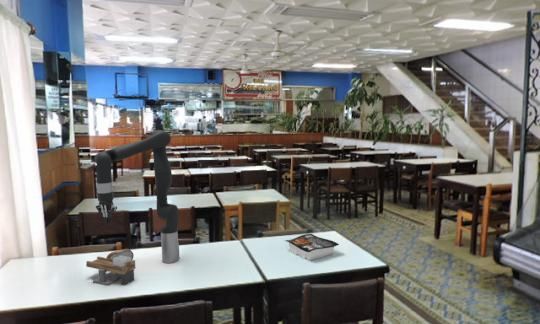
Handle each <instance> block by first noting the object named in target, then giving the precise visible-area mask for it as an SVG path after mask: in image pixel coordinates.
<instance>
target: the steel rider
mask: <svg viewBox="0 0 540 324" xmlns="http://www.w3.org/2000/svg"><path fill="white" fill-rule="evenodd" d="M130 261H131V257H127V256H122V255H120V256H117V257H115V258H113V266H115V267H120V268H122V265H124V264H126V263H128V262H130Z"/></svg>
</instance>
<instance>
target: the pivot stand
mask: <svg viewBox="0 0 540 324" xmlns="http://www.w3.org/2000/svg"><path fill="white" fill-rule="evenodd" d="M119 281H120V285H125V286H128V285H129V284H131V283H132V282H134V281H135V269H133V270H131V271H129V272H128V273H126V274H124V275H123V274H119V273H114V272H108V273H107V272H106V270H105V269H98V278H96V279H93V280H92V283H94V284H97V285H102V286H106V287H109V286H111V285H112V284H115V283H117V282H119Z"/></svg>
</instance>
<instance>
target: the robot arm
mask: <svg viewBox="0 0 540 324" xmlns="http://www.w3.org/2000/svg"><path fill="white" fill-rule="evenodd" d="M171 139H172V138H171V135H170V134H169V132H167V131H165V130H162V129H161V130H160V129H157V130H153V131H152V133H150V136H149V137H146V138H145V139H144V138H143V139H141V140H138V141H133V142H129V143H125V144H122V145H119V146H117V147H114V148H111V149H106V150H103V151H100V152H98V153H97V154H95V155H94V159H93V160H94V162H95V164H96V170H97V173H96V193H97V201H98V204H97V205H95V209H96V211H98V213H99V214H100V216H101V217H103V218H104V224H105V225H110V224H111V221H112V220H111V217H113V216H115V215H114V214H115V213H116V211H117V210H118V206H117V205H116V206H115V204H114V187H113V179H112V163H114V162H117V161H122V160H123V161H124V160H126V159H129V158H131V157H133V156H135V155H139V154H141V153H144V152H146V151H150V150H152V155H153V156H152V157H153V169H154V171H153V173H154V180H155V189H156V190H155V191H156V193H155V194H156V214H157V217H158V219H160V220H165V221H166V224H165V225H162V226H160V240H161V241H160V242H161V261H162V263H164V264H174V263H177V262H178V261H179V259H180V257H181V256H180V243H179V238H178V237H179V236H178V235H179V233H178V228H179V220H180V219H179V216H180V214H179V212H180V211H179V208H178V206H177V205H176V204H172V203H168V192H169V190H170V188H171V186H172V182H173V175H172V173H173V172H172V168H171V164H170V162H169V158H168V155H167V146H169V144H171Z"/></svg>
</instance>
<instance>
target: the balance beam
mask: <svg viewBox="0 0 540 324" xmlns="http://www.w3.org/2000/svg"><path fill="white" fill-rule="evenodd" d="M85 262H86V264H85V265H86V267H87V268H90V269H91V268H92V269H96V270H99V269H105V270H106V273H107V272H108V273H110V272H114V273H119V274H123V275H124V274H126V273H128V272H129V271H131V270H133V269H134V270H135V269H136V259H132V261H130V262H128V263H126V264H124V265H122V268H120V267H115V266H113V259H109V258H107V257H103V256H97V257H96V259H94V260H92V261H90V260H87V261H85Z"/></svg>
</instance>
